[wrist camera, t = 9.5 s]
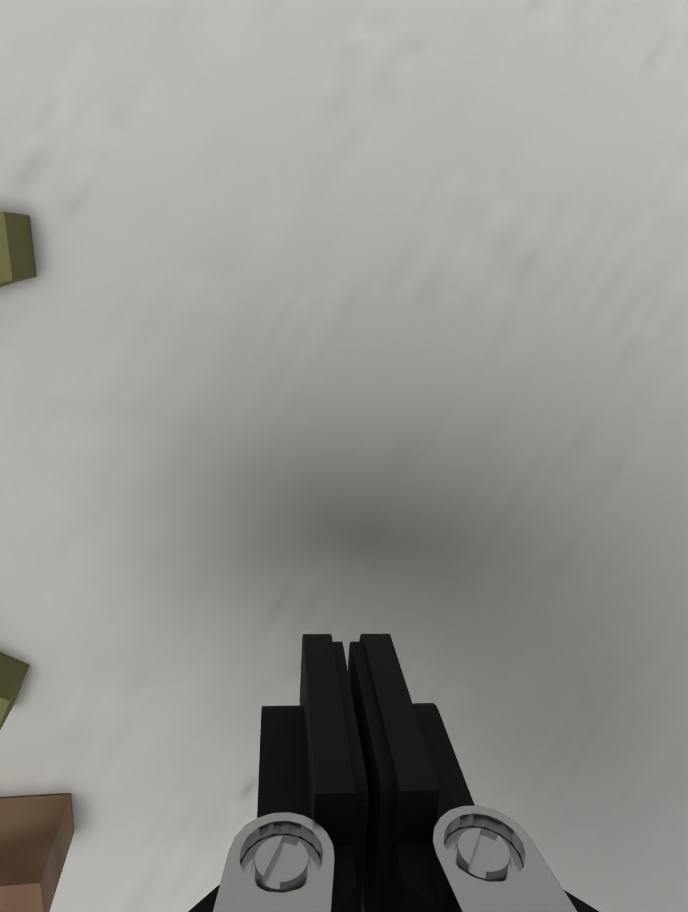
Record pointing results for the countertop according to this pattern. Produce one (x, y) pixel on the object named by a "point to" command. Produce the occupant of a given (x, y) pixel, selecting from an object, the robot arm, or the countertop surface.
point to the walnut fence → (33, 850)
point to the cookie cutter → (3, 262)
